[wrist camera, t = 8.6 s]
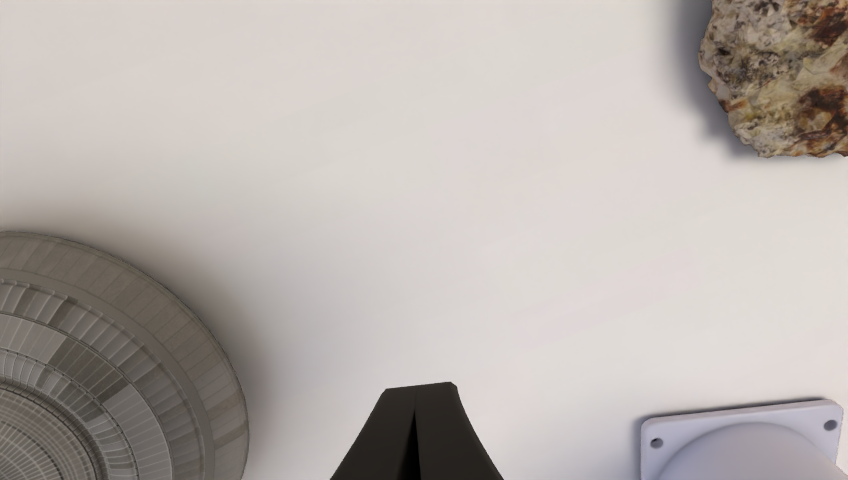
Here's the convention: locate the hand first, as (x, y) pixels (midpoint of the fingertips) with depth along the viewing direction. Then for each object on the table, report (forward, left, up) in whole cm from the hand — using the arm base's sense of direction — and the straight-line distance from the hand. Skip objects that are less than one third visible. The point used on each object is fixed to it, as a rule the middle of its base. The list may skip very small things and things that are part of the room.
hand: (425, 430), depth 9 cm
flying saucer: (-4, +15, -10) cm, 18 cm away
